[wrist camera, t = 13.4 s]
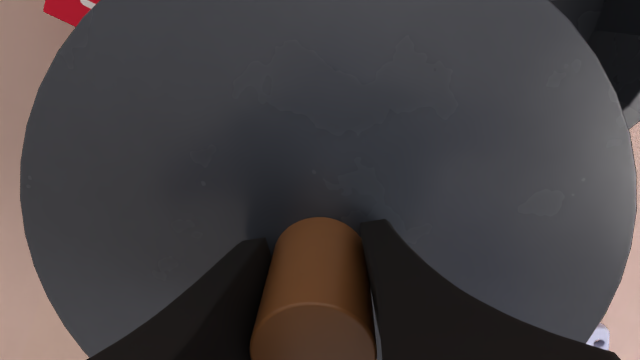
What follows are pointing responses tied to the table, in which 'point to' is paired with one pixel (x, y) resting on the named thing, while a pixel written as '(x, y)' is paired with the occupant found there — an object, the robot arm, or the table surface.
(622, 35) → the pot
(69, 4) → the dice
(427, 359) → the robot arm
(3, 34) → the table surface
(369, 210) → the lid
